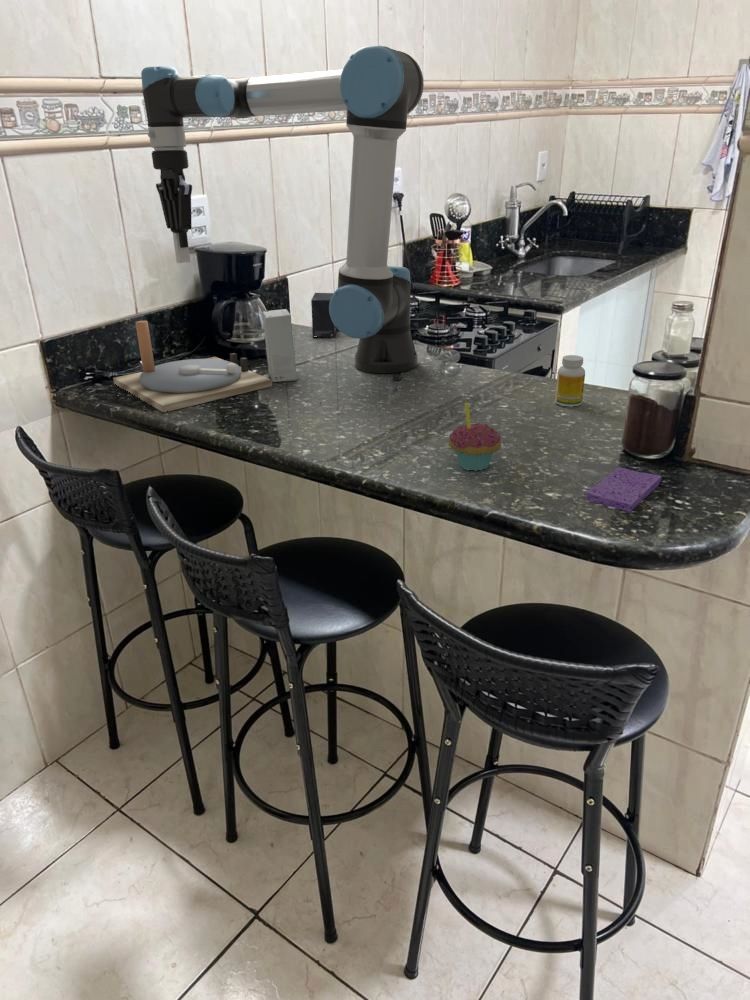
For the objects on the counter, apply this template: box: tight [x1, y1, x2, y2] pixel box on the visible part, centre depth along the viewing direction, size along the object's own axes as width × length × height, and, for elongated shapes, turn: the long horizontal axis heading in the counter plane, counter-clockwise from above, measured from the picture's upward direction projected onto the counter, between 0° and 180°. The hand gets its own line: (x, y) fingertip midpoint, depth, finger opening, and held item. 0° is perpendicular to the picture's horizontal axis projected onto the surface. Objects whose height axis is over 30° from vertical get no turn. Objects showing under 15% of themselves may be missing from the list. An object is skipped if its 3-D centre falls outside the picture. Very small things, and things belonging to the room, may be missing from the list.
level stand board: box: [112, 352, 273, 413], centre depth 166 cm, size 26×26×4 cm
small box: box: [310, 292, 338, 338], centre depth 206 cm, size 11×6×10 cm, turn 179°
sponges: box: [585, 466, 662, 513], centre depth 114 cm, size 7×13×2 cm, turn 142°
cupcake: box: [448, 398, 502, 471], centre depth 121 cm, size 9×8×12 cm
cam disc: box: [135, 320, 241, 393], centre depth 163 cm, size 22×22×12 cm
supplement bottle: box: [554, 354, 586, 408], centre depth 149 cm, size 5×5×10 cm
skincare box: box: [262, 308, 298, 383], centre depth 168 cm, size 8×6×15 cm
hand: (183, 262), depth 171 cm, fingers closed
